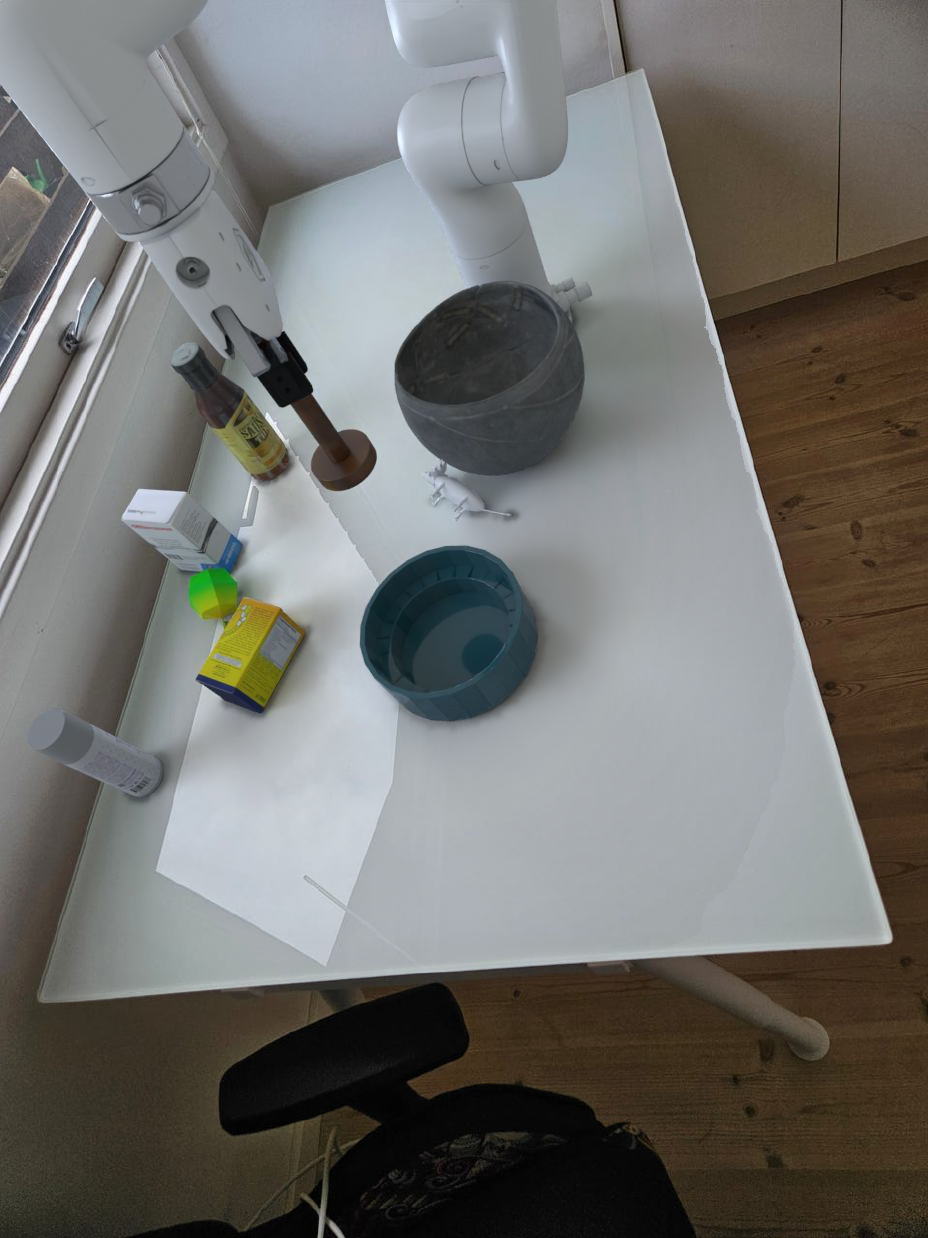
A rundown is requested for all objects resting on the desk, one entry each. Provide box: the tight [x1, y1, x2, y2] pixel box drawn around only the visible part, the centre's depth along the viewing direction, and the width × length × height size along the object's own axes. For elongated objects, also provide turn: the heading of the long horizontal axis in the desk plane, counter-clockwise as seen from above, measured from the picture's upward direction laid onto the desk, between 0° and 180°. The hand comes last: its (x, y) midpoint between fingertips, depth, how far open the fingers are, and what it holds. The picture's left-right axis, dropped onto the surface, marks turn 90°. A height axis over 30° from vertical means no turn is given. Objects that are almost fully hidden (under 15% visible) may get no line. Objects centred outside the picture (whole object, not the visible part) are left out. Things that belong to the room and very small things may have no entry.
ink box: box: [120, 488, 243, 575], centre depth 101 cm, size 9×5×12 cm, turn 71°
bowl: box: [393, 281, 586, 477], centre depth 91 cm, size 21×21×15 cm
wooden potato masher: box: [257, 341, 378, 492], centre depth 69 cm, size 6×6×16 cm
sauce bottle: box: [169, 341, 290, 482], centre depth 103 cm, size 6×6×20 cm
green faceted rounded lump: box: [187, 568, 239, 631], centre depth 98 cm, size 7×6×9 cm
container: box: [27, 707, 164, 798], centre depth 86 cm, size 5×5×15 cm
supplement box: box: [194, 596, 307, 715], centre depth 91 cm, size 6×6×11 cm
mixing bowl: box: [359, 544, 539, 723], centre depth 83 cm, size 17×17×6 cm
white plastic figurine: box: [421, 459, 513, 522], centre depth 93 cm, size 12×5×5 cm
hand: (293, 386), depth 67 cm, fingers closed on wooden potato masher
